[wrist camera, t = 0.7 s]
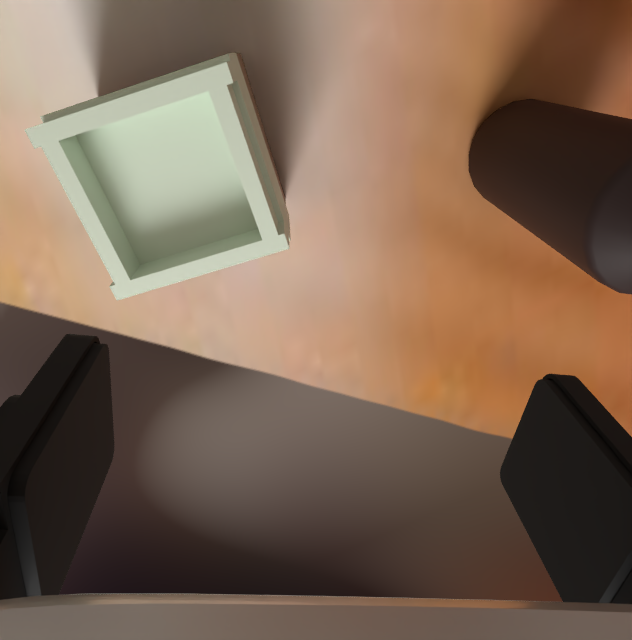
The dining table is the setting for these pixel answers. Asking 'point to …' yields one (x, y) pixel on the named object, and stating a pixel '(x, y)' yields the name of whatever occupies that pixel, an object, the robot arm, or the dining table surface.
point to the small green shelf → (169, 176)
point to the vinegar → (562, 181)
